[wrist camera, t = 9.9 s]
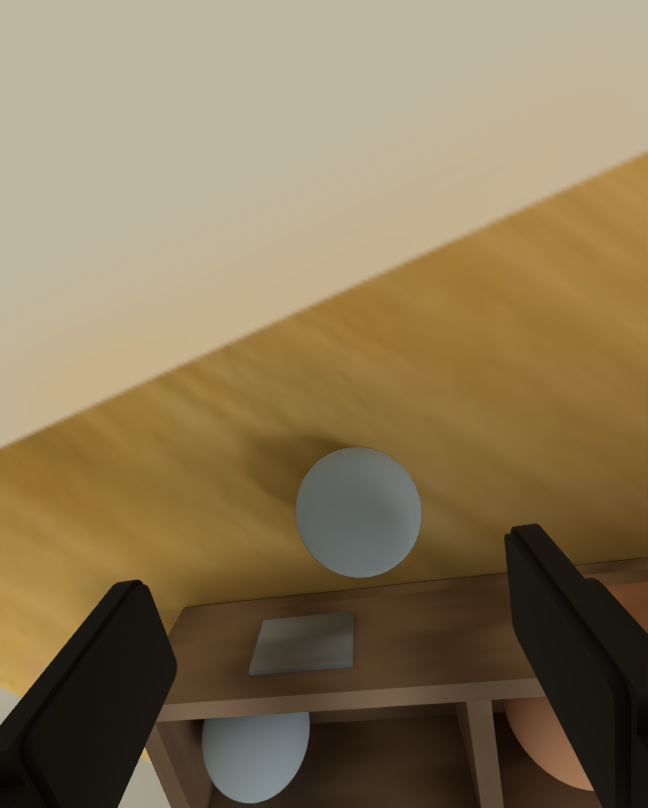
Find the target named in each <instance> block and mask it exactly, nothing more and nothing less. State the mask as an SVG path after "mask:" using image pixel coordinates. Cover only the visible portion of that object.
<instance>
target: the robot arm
mask: <svg viewBox="0 0 648 808" xmlns="http://www.w3.org/2000/svg"><path fill="white" fill-rule="evenodd" d="M505 550H506V561H507V572H508V583H509V594H510V605H511V616H512V624H513V628H514V632H515V635H516V637H517V639H518V642H519V644H520V646H521V647H522V649H523V651H524V653H525V655H526V657H527V659H528V661H529V663H530V665H531V667H532V669H533V671H534V673H535V675H536V677H537V679H538V681H539V683H540V685H541V687H542V689H543V691H544V693H545V695H546V697H547V699H548V701H549V703H550V705H551V707H552V709H553V711H554V713H555V715H556V717H557V719H558V721H559V722H560V724H561V726H562V728H563V730H564V732H565V734H566V736H567V738H568V740H569V742H570V744H571V746H572V748H573V750H574V752H575V754H576V756H577V758H578V760H579V762H580V764H581V766H582V768H583V770H584V772H585V774H586V776H587V778H588V780H589V782H590V784H591V786H592V788H593V790H594V792H595V794H596V796H597V797H598V799H599V801H600V803H601V805H602V807H603V808H648V633H647V632H646V631H645V630H644V629H643V628H642V627H641V626H640V624H639V623H638V622H637V621H636V620H635V619H634V618H633V617H632V616H631V615H630V613H629V612H628V611H627V610H626V609H625V608H624V607H623V606H622V605H621V603H620V602H619V601H618V600H617V599H616V598H615V597H614V596H613V595H612V593H611V592H610V591H609V590H608V589H607V588H606V587H605V586H604V585H603V584H602V583H601V582H600V581H599V580H597V579H595V578H584V577H583V575H582V574H581V573H580V572H579V571H578V570H577V568H576V567H575V566H574V565H573V564H572V563H571V562H570V560H569V559H568V558H567V557H566V556H565V555H564V553H563V552H562V551H561V550H560V549H559V548H558V546H557V545H556V544H555V543H554V542H553V541H552V539H551V538H550V537H549V536H548V535H547V534H546V532H545V531H544V530H543V529H542V528H541V527H540V526H539V525H538V524H529V525H522V526H515V527H512V529H511V533H510V534H505ZM176 674H177V661H176V658H175V655H174V652H173V650H172V647H171V645H170V642H169V639H168V637H167V634H166V632H165V629H164V626H163V624H162V621H161V618H160V616H159V613H158V611H157V608H156V605H155V603H154V600H153V598H152V595H151V592H150V590H149V588H148V586H147V585H144V584H143V583H142V582H141V581H140V580H131V581H124V582H118V583H116V584H114V585H113V586H112V587H111V589H110V590H109V591H108V592H107V594H106V595H105V596H104V597H103V599H102V600H101V601H100V602H99V603H98V605H97V606H96V607H95V608H94V610H93V611H92V612H91V613H90V615H89V616H88V617H87V618H86V620H85V621H84V622H83V623H82V625H81V626H80V627H79V628H78V630H77V631H76V632H75V633H74V635H73V636H72V637H71V638H70V639H69V641H68V642H67V643H66V644H65V646H64V647H63V648H62V649H61V651H60V652H59V653H58V654H57V656H56V657H55V658H54V659H53V661H52V662H51V663H50V664H49V666H48V667H47V668H46V669H45V670H44V672H43V673H42V674H41V675H40V677H39V678H38V679H37V680H36V682H35V683H34V684H33V685H32V687H31V688H30V689H29V690H28V692H27V693H26V694H25V695H24V697H23V698H22V699H21V700H20V701H19V703H18V704H17V705H16V706H15V708H14V709H13V710H12V711H11V713H10V714H9V715H8V716H7V718H6V719H5V720H4V721H3V723H2V724H1V725H0V808H118V805H119V803H120V801H121V799H122V796H123V794H124V792H125V790H126V787H127V785H128V783H129V781H130V778H131V776H132V774H133V772H134V769H135V767H136V765H137V763H138V760H139V758H140V756H141V754H142V752H143V749H144V747H145V745H146V743H147V740H148V738H149V736H150V734H151V731H152V729H153V727H154V725H155V722H156V720H157V718H158V716H159V713H160V711H161V709H162V707H163V704H164V702H165V700H166V698H167V695H168V693H169V691H170V689H171V686H172V684H173V682H174V680H175V677H176Z"/></svg>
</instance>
